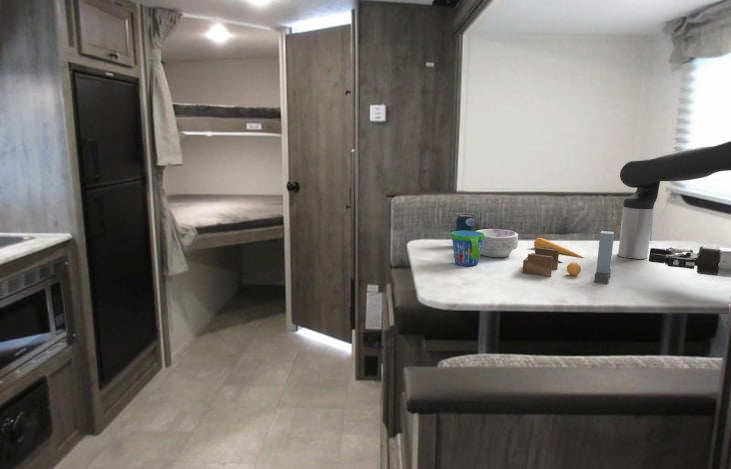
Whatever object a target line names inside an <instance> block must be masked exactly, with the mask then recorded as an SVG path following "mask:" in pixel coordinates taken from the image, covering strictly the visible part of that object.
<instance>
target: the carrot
mask: <svg viewBox="0 0 731 469" xmlns="http://www.w3.org/2000/svg"><path fill="white" fill-rule="evenodd" d="M533 242H534V243H533V247H534V248H536V247H537V248H544V247H553V248H555V249H557V250H559V254H561V255H565V256H570V257H576V258H581V259H583V258H584V259H585V257H583V256H582V255H580V254H578V253H576V252H574V251H572V250H570V249H567V248H565V247H563V246H561V245H559V244H556V243H555V242H552V241H549V240H547V239H545V238H541V237H537V238H536V239H535V240H534V241H533Z"/></svg>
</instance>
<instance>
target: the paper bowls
mask: <svg viewBox="0 0 731 469" xmlns="http://www.w3.org/2000/svg"><path fill="white" fill-rule="evenodd" d="M476 231H477V232H482V233H484V235H485V238H484V240H483V242H482V248H481V253H480V255H482V256H485V257H490V258H505V257H508V256H510V255H511V253H512V251H513V250H516V249H517V248H518V244H519V233H517V231H516V232H515V231H513V230H508V229H498V228H485V229H478V230H476Z"/></svg>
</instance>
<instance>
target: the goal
mask: <svg viewBox="0 0 731 469" xmlns="http://www.w3.org/2000/svg"><path fill="white" fill-rule="evenodd" d="M534 248H535V247H534ZM559 254H560V253H559V250H554V249H545V248H537V247H536V248H535V249H534V253H533V252H531V253H528V254H527V257H525V258H524V259H523V262H522V263H523V264H522V274H527V275H534V276H541V277H547V278H551V277H552V270H558V267H559V263H558V260H559Z"/></svg>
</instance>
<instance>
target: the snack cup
mask: <svg viewBox="0 0 731 469" xmlns="http://www.w3.org/2000/svg"><path fill="white" fill-rule="evenodd" d="M450 237H451V240H452V250H453V257H454V263H455V264H457V265H459V266H463V267H472V266H477V265H478V264H479V261H480V258H481V257H480V256H481V254H480V253H481V248H482V242H483V240H484V238H485V235H484V233H482V232H477V230H475V231H456V230H455V231H451V233H450Z"/></svg>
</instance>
